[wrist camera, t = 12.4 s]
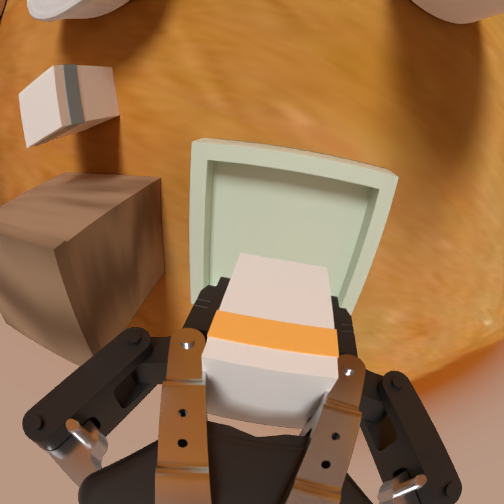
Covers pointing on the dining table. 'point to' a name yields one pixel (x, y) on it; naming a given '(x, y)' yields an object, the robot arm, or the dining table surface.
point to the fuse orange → (271, 343)
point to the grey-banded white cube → (67, 102)
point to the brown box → (80, 259)
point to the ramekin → (71, 8)
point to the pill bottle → (461, 9)
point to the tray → (285, 212)
